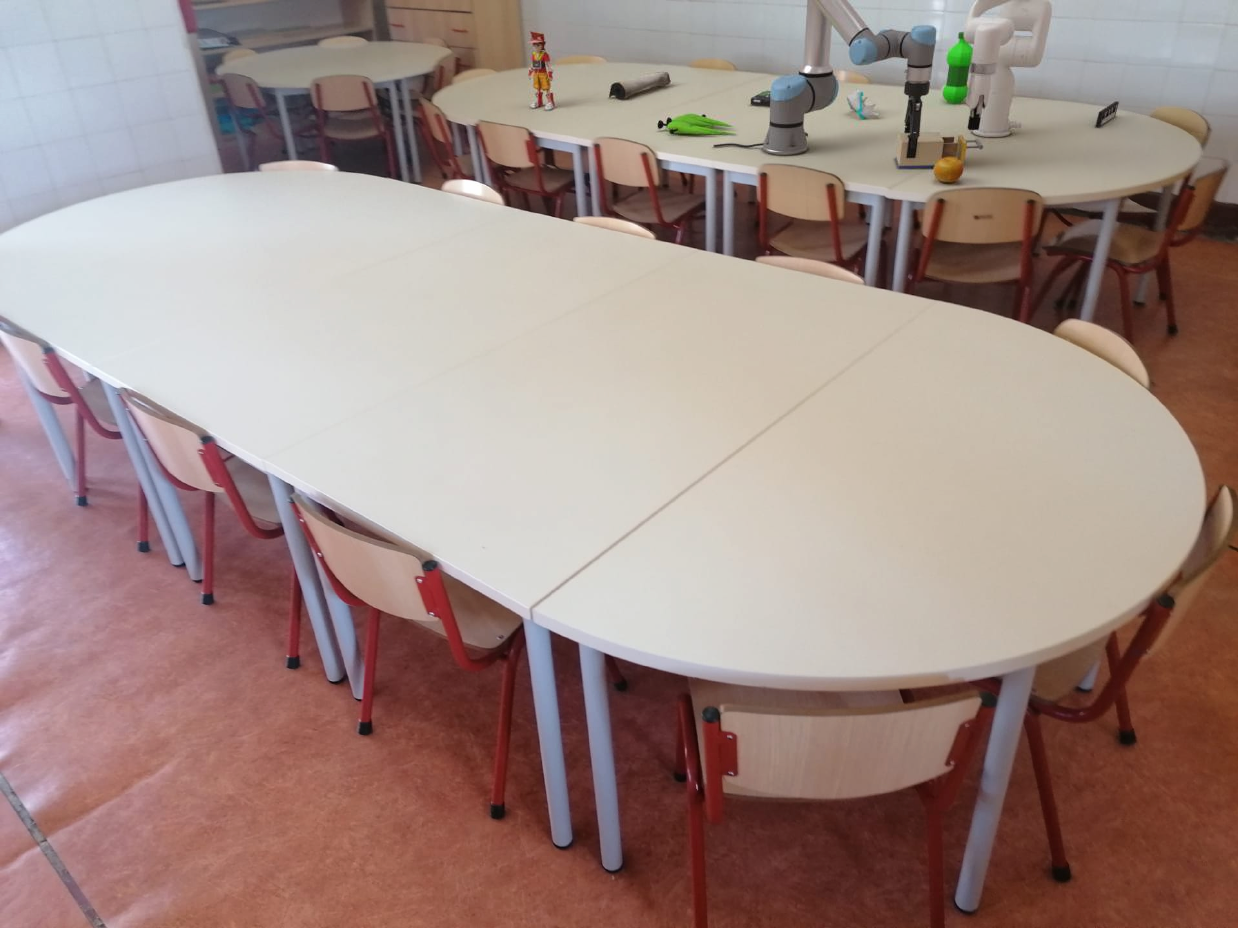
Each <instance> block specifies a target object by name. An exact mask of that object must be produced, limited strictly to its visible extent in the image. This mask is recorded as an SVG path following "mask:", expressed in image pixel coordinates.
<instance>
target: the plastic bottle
mask: <svg viewBox="0 0 1238 928" xmlns="http://www.w3.org/2000/svg"><path fill="white" fill-rule="evenodd" d="M957 39H958V42H957V43H956V44H954V45H953V46H952V47H951V48H950V49H949V50H948V52H947V54H946V63H947V64H948V69H947V70H948V71H947V76H946V77H947V78H946V84H945V85H944V87H943V90H942V97H943V99H944V100H945V101H946V102H947V103H948V104H960V103H961V102H963V101H964V100H966V97H967V91H968V86H969V85H968V79H969V75H970V73H969V72H970V65H971V59H972V52H973V47H972V44H969V43H967V42H965V40H964V31H959V32H958V36H957Z"/></svg>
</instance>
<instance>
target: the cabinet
mask: <svg viewBox="0 0 1238 928" xmlns="http://www.w3.org/2000/svg"><path fill="white" fill-rule="evenodd" d="M908 135H910V133H904V132H898V134H897V141H896V142H897V143H896V152H895V162H896V164H897V167H898V169H900V170H901V169H934V166H935V164H936V163H937V161H939V160H940V159H941V158H942V151H943V144H944V141H943V139H942V137H943V136H942V135H941V133H940V132H939V131H934V132H933V131H931V132H930V131H929V132H920V136H919V137H918V142H917V149H916V157H915V158H906V157H907V148H908V140H909V138H907V136H908Z"/></svg>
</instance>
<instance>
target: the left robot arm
mask: <svg viewBox="0 0 1238 928" xmlns="http://www.w3.org/2000/svg"><path fill="white" fill-rule="evenodd" d="M833 28H834V30H835V31H836V32H837V33H838V35H839V36H840V37H841V39H843V41H844V42H845V43H846V45H847V46H848V47H849V49H848V55H849V59H850V61H851V63H852V64H853V65H855V66H869V65H871V64H873V63H877V62H880V61H885V60H889V59H892V58H897V59H898V58H899V59H905V60H907V62H906V69H904V73H905V80H906V81H905V82H904V89H903V94H904V95H905V96H908V97H907V98H908V99H907V106H906V112H905V118H904V132H903V133H910V135H908V136H907V138H909V140H908V148H907V157H906V158H915V157H916V149H917V142H918V137H919V136H920V133H921V120H922V111H923V100H922V97H923V96H927V95H928V94H929V93H930V87H931V79H932V74H933V62H934V55H935V48H936V44H937V28H936V27H935V26H934V25H930V24H929V25H928V24H926V25H924V24H920V25H915V26H913V27H911V29H910V31H904V30H896V29H894V28H893V29H892V28H890V29H882V30H880V31H879V32H878V33H877V34H874V32H873V31H872V29H870V28H869V26H868V24H866V22H865V21H864V19H863V18H862V17H861V16H860V14H859V13H858V12H857V11H856V9H855V8H854V7H853V5H851V3H850V1H848V0H806V19H805V34H804V35H805V36H804V38H805V39H804V52H803V64H802V66H800V67H799V69H798V74H789V75H783V76H780V77H778V78H776V79H774V80H773V82H772V83H771V87H770V91H771V92H770V106H769V125H768V129H767V132H766V135H765V138H764V141H763V142H760V143H754V144H740V143H735V142H734V143H733V142H732V143H731V142H730V143H719V144H713V148H717V147H719V148H720V147H726V146H728V147H729V146H732V147H733V146H734V147H740V148H753V147H760V146H762V151H763V152H765V153H767V154H770V155H774V156H794V155H800V154H803V153H805V152H807V150H808V140H807V138H808V137H809V133H808V132H805V131H806V130H805V128H804V125H805V124H804V121H805V114H809V113H813V112H817V111H821V110H823V109H825V108H827V107H830V106H831V105H832V104H833V103H834V102H835V101H836V98H837V97H838V94H839V87H840V86H839V80H838V79H837V76H836V75H835V73H834V68H833V66H832V65H831V63H830V58H831V44H832V32H833V31H832V30H833Z"/></svg>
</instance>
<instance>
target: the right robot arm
mask: <svg viewBox="0 0 1238 928" xmlns="http://www.w3.org/2000/svg"><path fill="white" fill-rule="evenodd" d="M996 7H1000V11H999V16H998V17H983V16H982V15H983V14H984V13H986V12H988V11H989V10H991V9H994V8H996ZM1052 14H1053V5H1052V3H1051V2H1050V0H975V1H974V3H973V4H972V6H971V7H970V9H969V12H968V15H967V18H966V22H965V24H964V29H963V32H964V40H965V42H967V43H969V44H970V45H972V46H973V47H972V48H973V52H972V59H971V65H970V68H969V75H970V77H969V82H968V85H967V86H968V91H967V97H966V98H965V103H966V105H967V107H968V108H969V109H970V110H969V117H968V123H967V130H968V131H972V134H974V135H976V136H979V137H986V138H1002V137H1007V136H1009V135H1010V134H1011V130H1012V129H1021V128H1022V123H1023V122H1022V121H1021V122H1020V121H1019V122H1017V121H1015V120H1013V121H1010V119H1009V117H1010V110H1011V106H1012V100H1013V95H1014V91H1015V90H1014V89H1015V85H1016V84H1015V83H1016V77H1015V74H1014V73H1013V71H1012V69H1011V68H1029V69H1030V68H1037V67H1038V66H1039V65H1040V64H1041V62H1042V60H1043V57H1044V54H1045V48H1046V44H1047V39H1048V35H1049V30H1050V26H1051V25H1050V24H1051V19H1052ZM981 16H982V17H981ZM1015 32H1030V33H1031V34H1032V35H1019V34H1018V35H1017V34H1015ZM1014 34H1015V35H1014Z"/></svg>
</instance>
